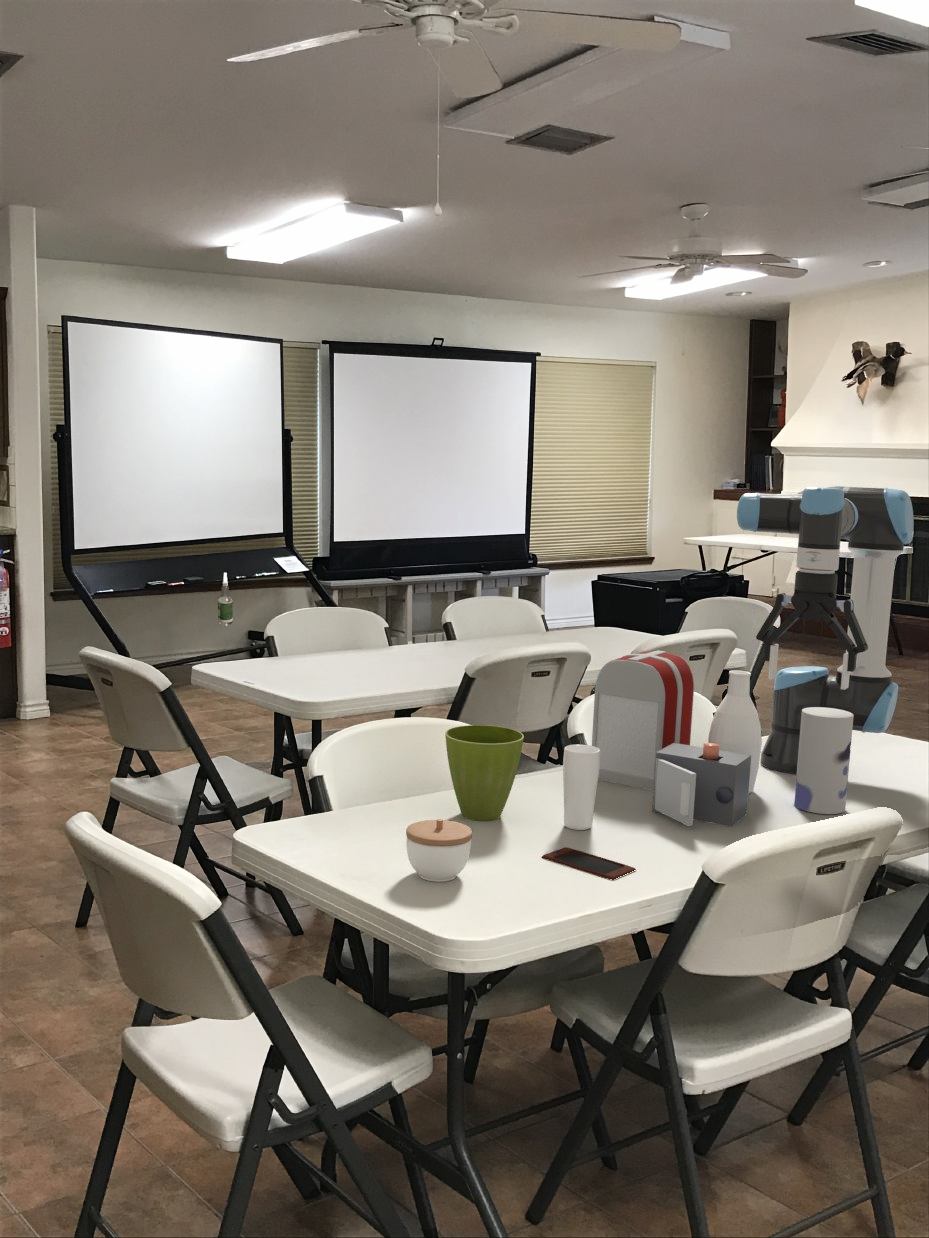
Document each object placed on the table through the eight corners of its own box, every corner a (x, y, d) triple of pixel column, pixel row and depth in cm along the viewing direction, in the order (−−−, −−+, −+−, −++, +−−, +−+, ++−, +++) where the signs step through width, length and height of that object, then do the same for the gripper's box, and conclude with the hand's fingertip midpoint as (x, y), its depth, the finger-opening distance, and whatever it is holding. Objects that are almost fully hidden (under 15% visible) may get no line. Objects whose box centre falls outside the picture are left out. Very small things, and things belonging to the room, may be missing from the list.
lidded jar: (403, 863, 199) (405, 809, 198) (467, 864, 200) (469, 810, 199) (405, 886, 188) (407, 829, 187) (473, 887, 189) (475, 830, 188)
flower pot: (505, 832, 218) (509, 747, 216) (430, 820, 223) (433, 737, 221) (529, 810, 232) (533, 730, 230) (458, 800, 237) (461, 721, 235)
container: (847, 817, 237) (856, 718, 234) (795, 812, 239) (803, 714, 236) (842, 803, 246) (850, 708, 244) (792, 798, 248) (800, 704, 246)
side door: (656, 807, 234) (659, 758, 233) (692, 825, 224) (696, 773, 222) (648, 808, 233) (652, 758, 232) (684, 826, 223) (688, 774, 221)
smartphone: (565, 845, 210) (637, 867, 200) (565, 850, 210) (636, 872, 200) (540, 854, 205) (613, 877, 195) (540, 859, 205) (612, 882, 195)
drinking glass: (599, 824, 225) (604, 746, 223) (591, 834, 219) (596, 754, 217) (564, 819, 227) (569, 742, 225) (555, 829, 221) (560, 750, 219)
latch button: (705, 754, 233) (706, 742, 233) (720, 757, 232) (721, 744, 231) (700, 757, 230) (701, 745, 230) (715, 760, 229) (716, 747, 229)
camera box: (669, 800, 243) (673, 742, 242) (746, 814, 236) (751, 755, 234) (650, 812, 234) (654, 753, 232) (730, 828, 226) (734, 766, 225)
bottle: (700, 792, 250) (708, 673, 247) (709, 779, 261) (718, 665, 257) (753, 799, 246) (763, 679, 243) (761, 786, 257) (770, 670, 253)
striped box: (690, 774, 264) (698, 654, 261) (658, 791, 250) (666, 664, 246) (622, 761, 273) (629, 645, 270) (587, 777, 258) (594, 654, 255)
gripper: (744, 566, 224) (736, 677, 227) (881, 578, 211) (871, 695, 214) (757, 564, 230) (749, 672, 233) (891, 575, 217) (880, 689, 220)
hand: (807, 683), depth 224 cm, fingers open, 13 cm apart
